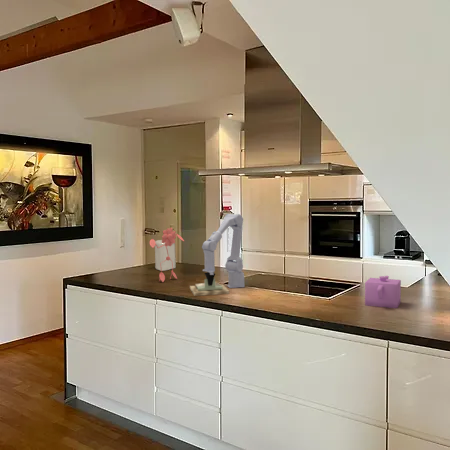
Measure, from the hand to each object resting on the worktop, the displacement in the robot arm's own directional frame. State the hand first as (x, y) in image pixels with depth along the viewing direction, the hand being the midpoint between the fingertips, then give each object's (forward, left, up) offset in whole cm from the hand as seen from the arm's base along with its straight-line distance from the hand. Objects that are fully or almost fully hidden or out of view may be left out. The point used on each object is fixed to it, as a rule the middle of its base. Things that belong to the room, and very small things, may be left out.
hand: (210, 285), depth 269 cm
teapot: (-81, +49, -4) cm, 95 cm away
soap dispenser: (+21, -89, -4) cm, 92 cm away
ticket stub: (0, -1, -2) cm, 3 cm away
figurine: (+19, -39, -4) cm, 44 cm away
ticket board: (0, -4, -4) cm, 6 cm away
